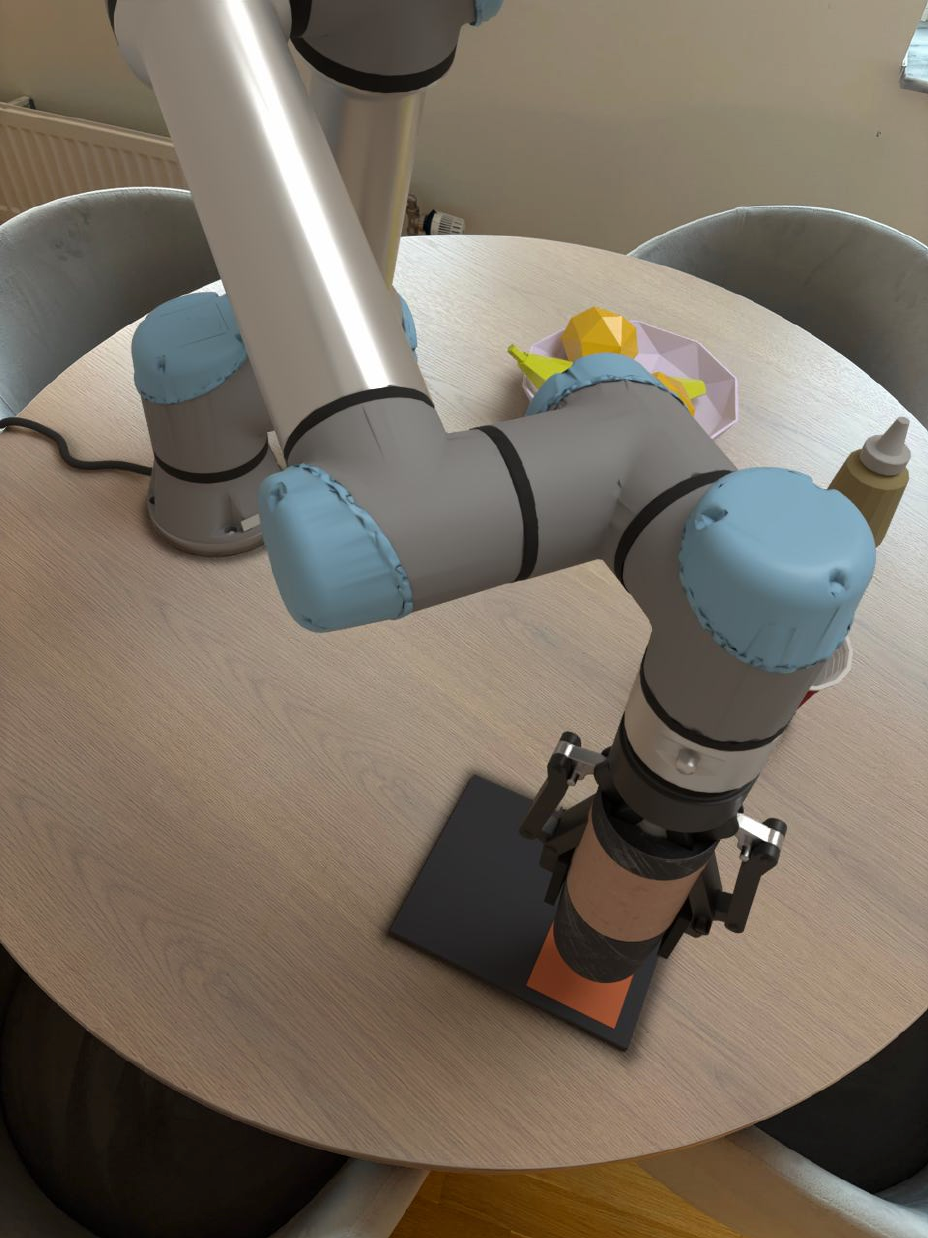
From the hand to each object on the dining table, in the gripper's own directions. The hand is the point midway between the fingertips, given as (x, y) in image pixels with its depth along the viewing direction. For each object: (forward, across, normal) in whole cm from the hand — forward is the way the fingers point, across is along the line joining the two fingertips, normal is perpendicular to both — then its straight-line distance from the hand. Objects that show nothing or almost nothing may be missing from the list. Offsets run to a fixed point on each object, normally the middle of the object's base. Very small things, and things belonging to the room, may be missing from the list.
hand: (610, 913), depth 66 cm
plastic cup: (+11, +6, +30) cm, 33 cm away
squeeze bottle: (+11, +9, +58) cm, 59 cm away
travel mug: (+4, 0, 0) cm, 4 cm away
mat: (+11, -5, +4) cm, 12 cm away
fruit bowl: (+11, -21, +66) cm, 71 cm away
